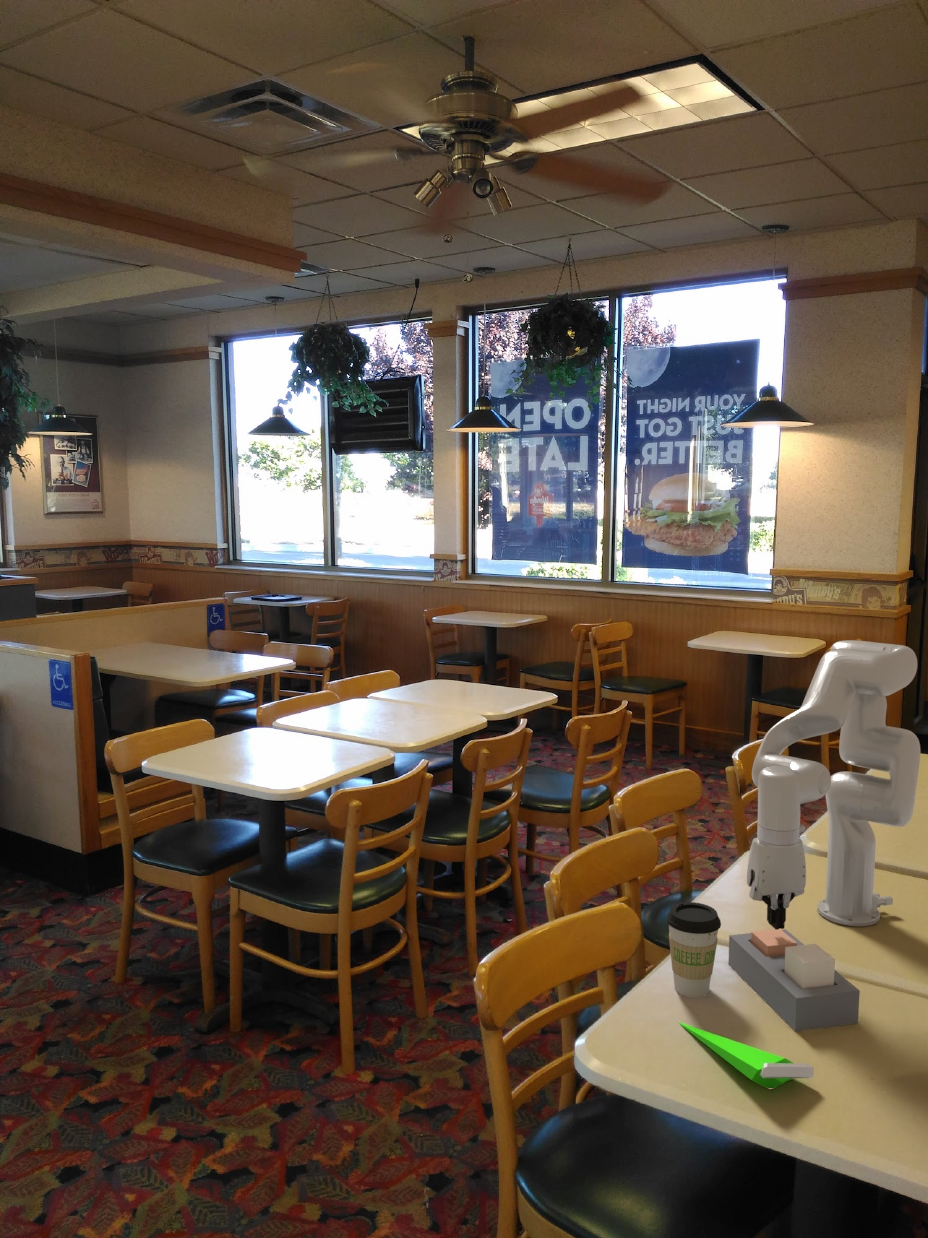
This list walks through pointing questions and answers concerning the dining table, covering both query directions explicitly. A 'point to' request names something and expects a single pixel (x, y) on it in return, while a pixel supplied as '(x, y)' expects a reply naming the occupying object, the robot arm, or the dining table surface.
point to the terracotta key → (771, 942)
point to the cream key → (809, 966)
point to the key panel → (793, 988)
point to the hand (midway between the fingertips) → (776, 926)
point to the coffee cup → (692, 946)
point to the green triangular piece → (753, 1060)
